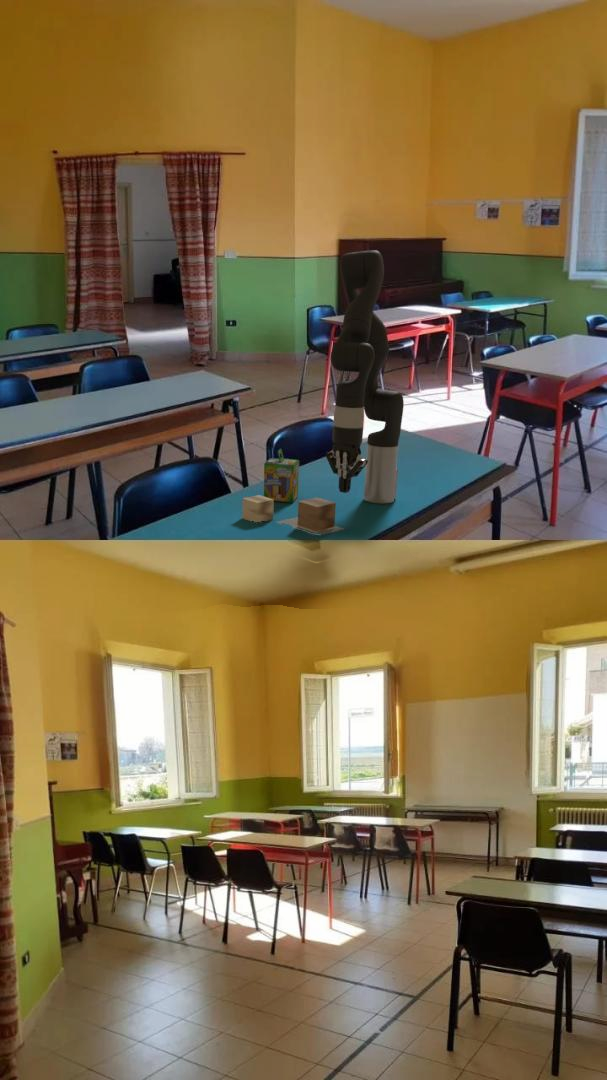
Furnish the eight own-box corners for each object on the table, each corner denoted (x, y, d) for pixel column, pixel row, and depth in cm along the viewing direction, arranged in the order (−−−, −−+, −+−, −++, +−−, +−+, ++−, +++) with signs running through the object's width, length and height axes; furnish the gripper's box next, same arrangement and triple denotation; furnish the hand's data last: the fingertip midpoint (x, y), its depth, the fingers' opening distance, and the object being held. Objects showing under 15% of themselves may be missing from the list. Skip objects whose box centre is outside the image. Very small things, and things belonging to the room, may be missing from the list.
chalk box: (292, 503, 246) (294, 454, 241) (262, 501, 247) (264, 451, 243) (299, 496, 255) (301, 448, 250) (270, 493, 256) (271, 446, 252)
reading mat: (303, 516, 233) (303, 515, 233) (344, 529, 222) (344, 528, 222) (274, 522, 226) (274, 522, 226) (316, 536, 215) (316, 536, 215)
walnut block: (315, 522, 227) (316, 497, 225) (334, 528, 222) (335, 502, 220) (297, 526, 222) (298, 501, 220) (316, 533, 218) (317, 507, 215)
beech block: (258, 515, 232) (259, 495, 230) (273, 520, 228) (273, 499, 226) (242, 519, 228) (242, 498, 226) (256, 524, 224) (257, 502, 222)
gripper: (378, 427, 205) (373, 495, 210) (339, 419, 214) (335, 485, 219) (358, 429, 200) (353, 499, 205) (318, 421, 209) (315, 488, 214)
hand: (344, 491), depth 212 cm, fingers closed
